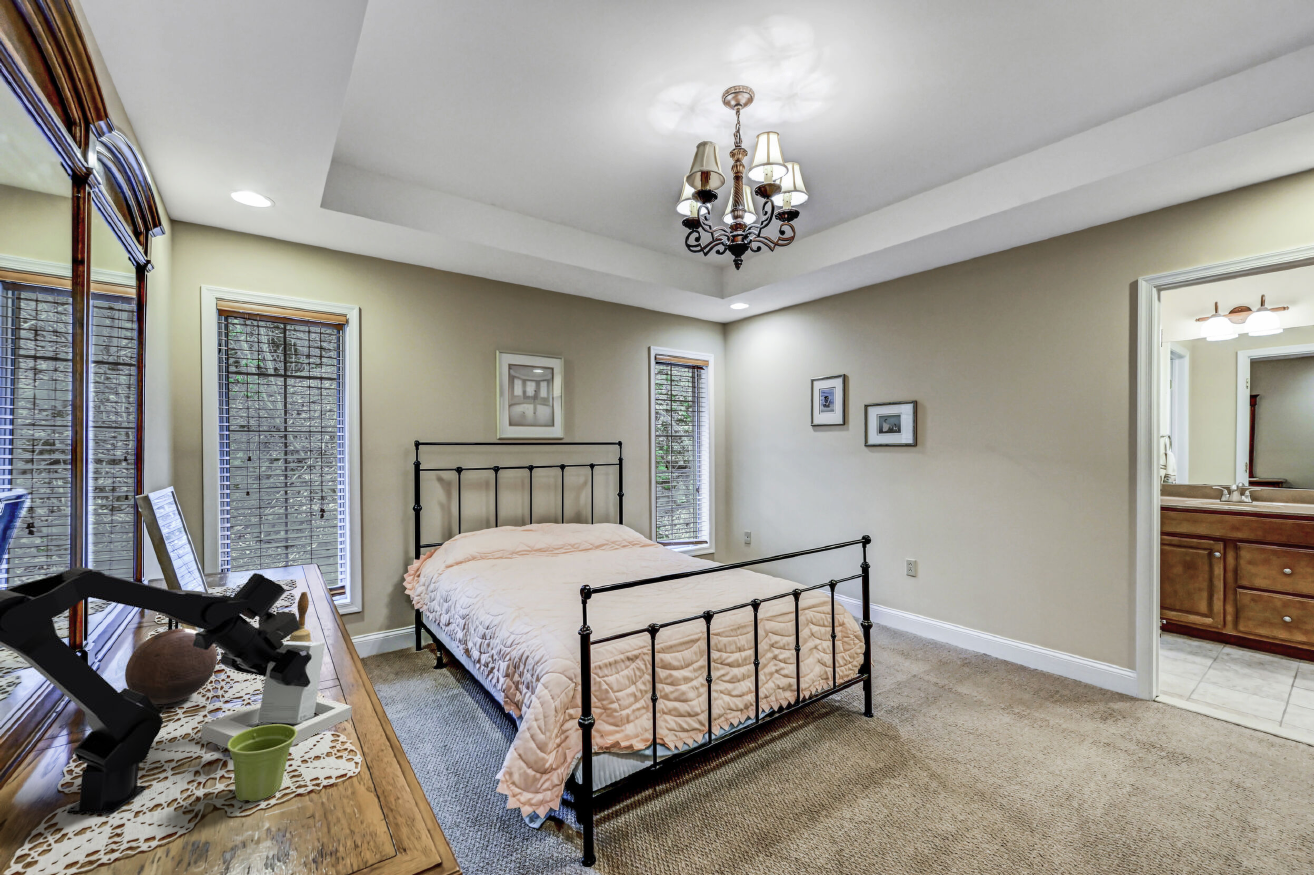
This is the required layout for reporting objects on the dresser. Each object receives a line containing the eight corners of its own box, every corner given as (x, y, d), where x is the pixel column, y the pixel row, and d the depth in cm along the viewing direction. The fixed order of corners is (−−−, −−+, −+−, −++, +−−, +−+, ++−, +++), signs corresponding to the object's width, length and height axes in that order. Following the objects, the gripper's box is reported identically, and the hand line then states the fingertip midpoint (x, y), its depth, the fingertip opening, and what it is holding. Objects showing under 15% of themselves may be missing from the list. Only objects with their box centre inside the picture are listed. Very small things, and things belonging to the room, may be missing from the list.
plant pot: (281, 768, 100) (285, 718, 100) (302, 791, 94) (305, 737, 94) (215, 791, 92) (220, 736, 93) (233, 817, 86) (237, 759, 87)
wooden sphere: (229, 696, 126) (234, 627, 126) (145, 723, 112) (151, 646, 113) (190, 681, 132) (196, 616, 133) (107, 705, 118) (113, 632, 119)
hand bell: (283, 648, 156) (288, 589, 156) (318, 645, 159) (322, 588, 160) (278, 658, 148) (282, 597, 149) (315, 655, 152) (319, 595, 152)
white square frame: (260, 760, 102) (262, 746, 102) (200, 738, 108) (201, 724, 108) (351, 718, 119) (351, 706, 119) (294, 701, 125) (295, 689, 125)
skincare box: (313, 718, 117) (329, 642, 120) (295, 725, 111) (312, 644, 115) (273, 716, 117) (290, 639, 121) (253, 722, 111) (271, 641, 115)
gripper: (306, 609, 108) (352, 651, 117) (242, 595, 115) (290, 636, 124) (260, 664, 100) (313, 704, 110) (194, 645, 107) (250, 685, 117)
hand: (292, 679), depth 115 cm, fingers closed on skincare box, 9 cm apart
